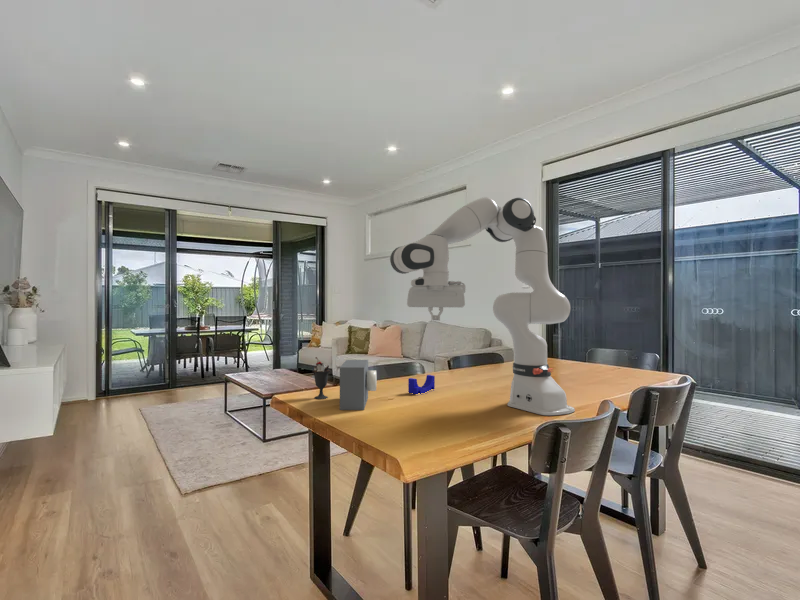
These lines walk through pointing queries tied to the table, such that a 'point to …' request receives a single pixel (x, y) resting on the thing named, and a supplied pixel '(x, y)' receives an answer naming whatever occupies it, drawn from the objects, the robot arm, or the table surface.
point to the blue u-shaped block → (426, 387)
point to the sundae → (321, 378)
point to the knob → (371, 380)
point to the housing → (353, 385)
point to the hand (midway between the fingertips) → (435, 320)
